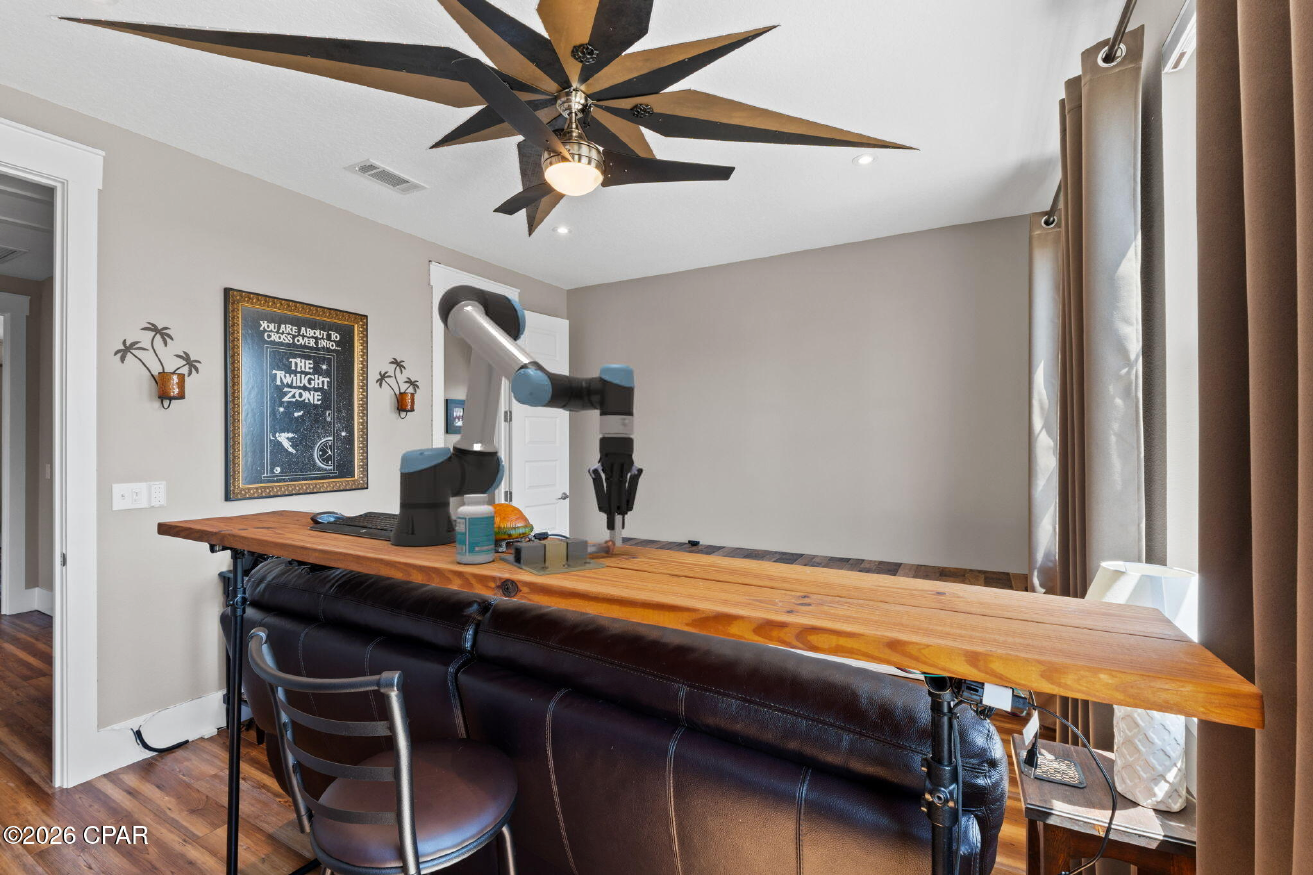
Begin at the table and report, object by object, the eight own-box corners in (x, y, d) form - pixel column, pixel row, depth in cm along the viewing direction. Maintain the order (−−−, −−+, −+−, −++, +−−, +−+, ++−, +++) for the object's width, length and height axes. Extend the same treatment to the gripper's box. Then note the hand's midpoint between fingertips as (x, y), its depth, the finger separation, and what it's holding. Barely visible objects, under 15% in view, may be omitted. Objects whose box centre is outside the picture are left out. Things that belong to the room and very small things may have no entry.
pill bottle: (499, 558, 121) (500, 493, 121) (486, 565, 113) (487, 496, 114) (465, 557, 121) (466, 493, 122) (449, 564, 114) (450, 495, 115)
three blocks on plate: (499, 558, 120) (499, 538, 120) (560, 552, 128) (560, 533, 128) (538, 575, 104) (539, 551, 104) (606, 567, 112) (606, 545, 112)
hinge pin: (543, 559, 117) (543, 544, 117) (607, 552, 125) (607, 539, 126) (549, 562, 114) (549, 546, 114) (614, 554, 123) (614, 540, 123)
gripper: (599, 435, 119) (598, 550, 118) (650, 436, 127) (650, 544, 126) (581, 435, 125) (580, 545, 124) (632, 437, 133) (631, 540, 132)
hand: (615, 545), depth 125 cm, fingers closed
